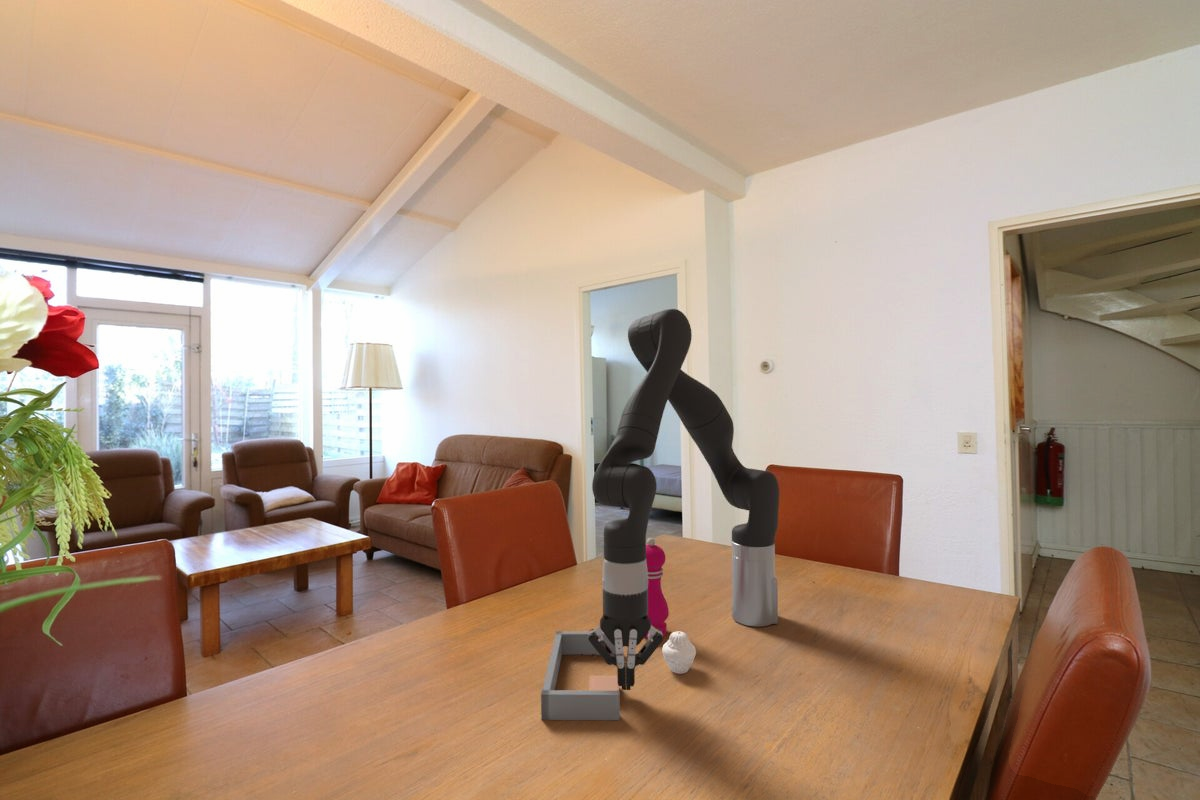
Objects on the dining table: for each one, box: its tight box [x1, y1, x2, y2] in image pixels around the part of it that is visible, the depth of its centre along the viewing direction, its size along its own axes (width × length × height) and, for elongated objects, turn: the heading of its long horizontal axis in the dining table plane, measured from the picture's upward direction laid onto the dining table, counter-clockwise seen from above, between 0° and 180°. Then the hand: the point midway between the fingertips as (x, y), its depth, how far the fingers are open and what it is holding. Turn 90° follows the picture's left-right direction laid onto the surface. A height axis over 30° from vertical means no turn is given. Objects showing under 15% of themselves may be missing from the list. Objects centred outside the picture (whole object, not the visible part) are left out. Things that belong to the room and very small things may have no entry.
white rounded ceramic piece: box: [661, 630, 697, 675], centre depth 102 cm, size 6×6×7 cm
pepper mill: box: [644, 537, 670, 639], centre depth 117 cm, size 7×7×20 cm
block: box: [588, 675, 620, 692], centre depth 93 cm, size 5×5×2 cm
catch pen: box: [540, 630, 621, 721], centre depth 98 cm, size 12×22×4 cm, turn 178°
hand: (625, 687), depth 93 cm, fingers closed
